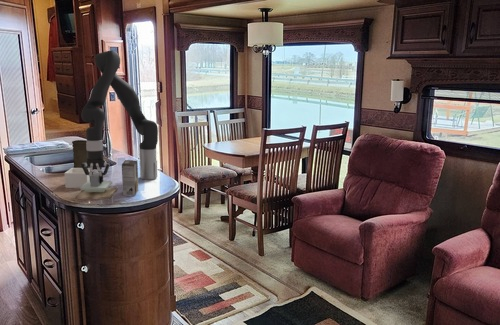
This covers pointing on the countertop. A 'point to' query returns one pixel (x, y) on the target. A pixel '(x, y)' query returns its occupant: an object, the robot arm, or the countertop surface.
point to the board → (96, 194)
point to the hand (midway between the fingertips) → (96, 182)
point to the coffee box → (130, 178)
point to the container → (79, 153)
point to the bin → (76, 178)
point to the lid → (95, 184)
